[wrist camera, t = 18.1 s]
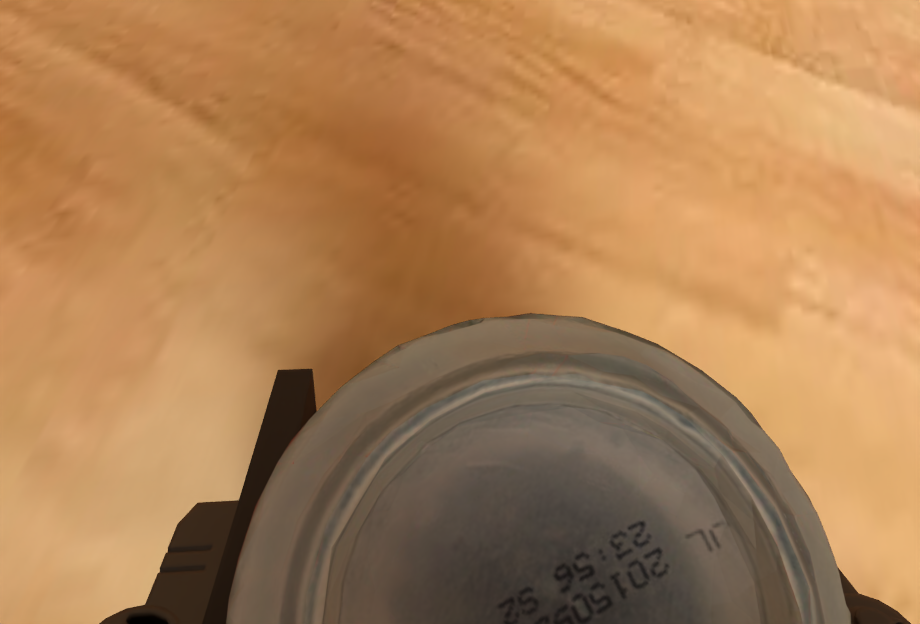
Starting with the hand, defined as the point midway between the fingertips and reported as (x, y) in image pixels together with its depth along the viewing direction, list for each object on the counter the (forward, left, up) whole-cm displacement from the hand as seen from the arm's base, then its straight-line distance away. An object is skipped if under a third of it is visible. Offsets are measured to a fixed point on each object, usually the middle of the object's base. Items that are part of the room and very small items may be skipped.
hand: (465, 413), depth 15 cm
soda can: (-1, -3, -4) cm, 6 cm away
